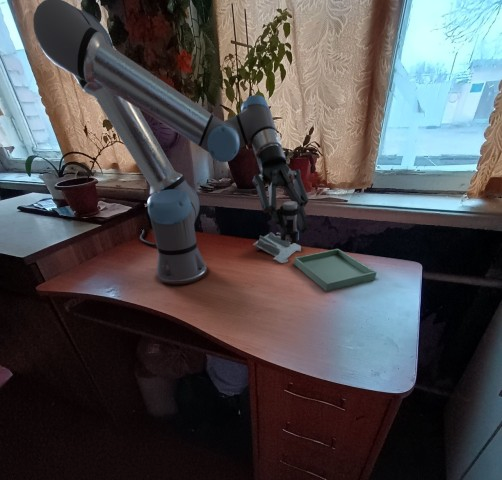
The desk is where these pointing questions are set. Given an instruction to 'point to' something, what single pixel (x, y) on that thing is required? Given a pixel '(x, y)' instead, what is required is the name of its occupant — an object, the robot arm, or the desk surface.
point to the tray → (334, 269)
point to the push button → (290, 221)
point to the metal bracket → (277, 247)
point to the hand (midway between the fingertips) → (294, 232)
